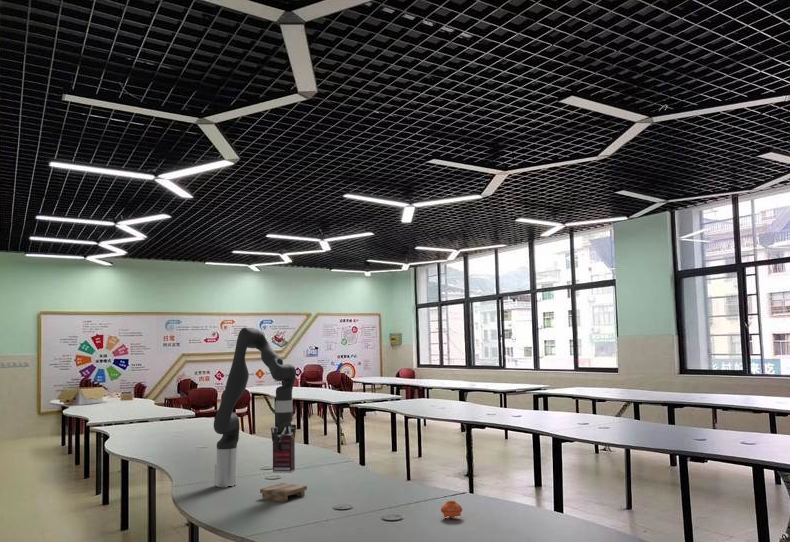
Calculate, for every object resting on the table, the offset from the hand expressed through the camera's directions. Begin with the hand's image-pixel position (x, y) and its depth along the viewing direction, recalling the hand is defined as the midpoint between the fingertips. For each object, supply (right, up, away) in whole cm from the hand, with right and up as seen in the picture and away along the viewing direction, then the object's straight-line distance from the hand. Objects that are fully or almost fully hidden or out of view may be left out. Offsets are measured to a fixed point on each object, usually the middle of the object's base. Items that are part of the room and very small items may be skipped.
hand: (283, 450), depth 270 cm
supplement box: (0, -9, -1) cm, 9 cm away
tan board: (0, -19, -3) cm, 20 cm away
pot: (+69, -14, -41) cm, 82 cm away
